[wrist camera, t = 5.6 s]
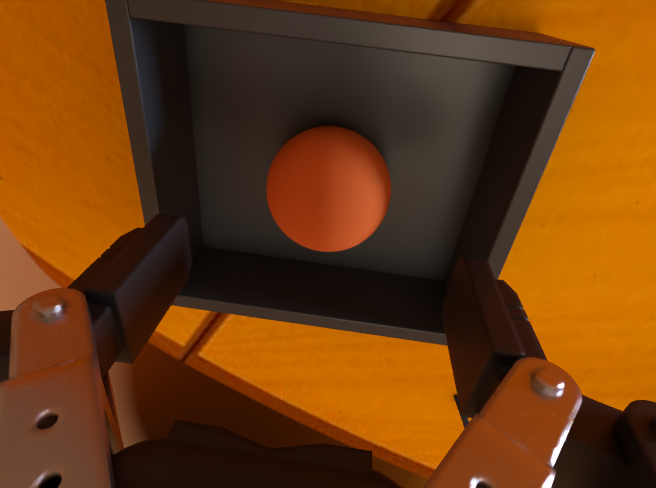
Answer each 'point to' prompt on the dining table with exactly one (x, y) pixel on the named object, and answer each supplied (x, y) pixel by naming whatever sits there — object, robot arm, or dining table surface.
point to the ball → (328, 188)
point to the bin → (347, 112)
